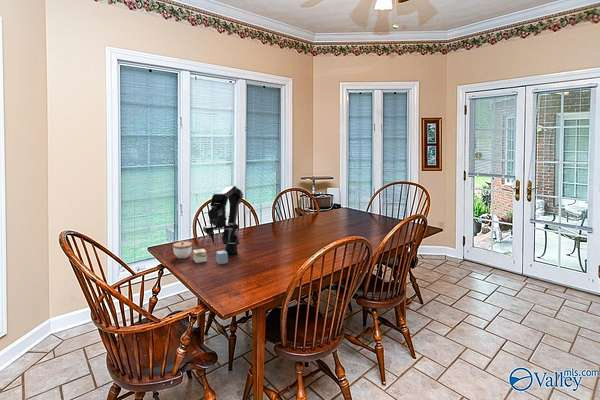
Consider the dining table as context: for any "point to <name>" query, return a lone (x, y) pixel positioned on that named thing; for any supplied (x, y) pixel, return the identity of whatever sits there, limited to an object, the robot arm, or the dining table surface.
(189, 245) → the lidded jar
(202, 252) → the slab top
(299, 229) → the dining table surface
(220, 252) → the blue block
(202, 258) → the slab bottom
